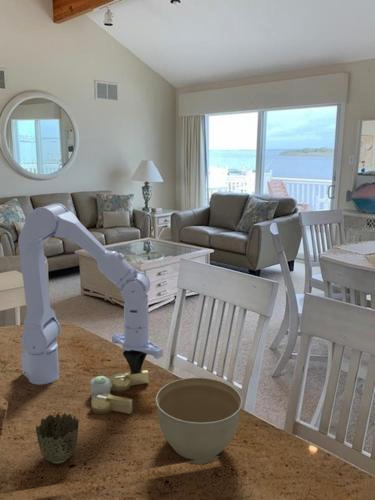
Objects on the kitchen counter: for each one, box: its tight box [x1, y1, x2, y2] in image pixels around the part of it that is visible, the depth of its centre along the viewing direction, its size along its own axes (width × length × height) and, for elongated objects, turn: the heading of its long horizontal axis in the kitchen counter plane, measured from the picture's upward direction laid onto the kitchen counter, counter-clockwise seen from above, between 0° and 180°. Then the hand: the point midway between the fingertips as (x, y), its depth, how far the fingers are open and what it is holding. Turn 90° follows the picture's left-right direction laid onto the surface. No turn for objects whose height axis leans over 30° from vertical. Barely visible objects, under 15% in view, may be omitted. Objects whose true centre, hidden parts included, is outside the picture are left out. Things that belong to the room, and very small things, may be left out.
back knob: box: [109, 369, 150, 393], centre depth 110 cm, size 9×5×3 cm, turn 109°
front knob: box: [90, 393, 133, 415], centre depth 99 cm, size 9×5×3 cm, turn 71°
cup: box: [35, 413, 80, 464], centre depth 83 cm, size 8×7×8 cm
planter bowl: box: [155, 377, 243, 465], centre depth 87 cm, size 16×16×11 cm
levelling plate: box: [89, 375, 112, 399], centre depth 105 cm, size 17×17×6 cm
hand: (136, 377), depth 112 cm, fingers closed, pressing on back knob
